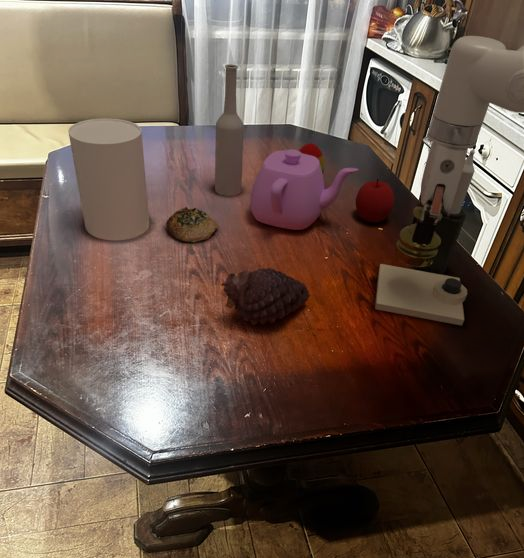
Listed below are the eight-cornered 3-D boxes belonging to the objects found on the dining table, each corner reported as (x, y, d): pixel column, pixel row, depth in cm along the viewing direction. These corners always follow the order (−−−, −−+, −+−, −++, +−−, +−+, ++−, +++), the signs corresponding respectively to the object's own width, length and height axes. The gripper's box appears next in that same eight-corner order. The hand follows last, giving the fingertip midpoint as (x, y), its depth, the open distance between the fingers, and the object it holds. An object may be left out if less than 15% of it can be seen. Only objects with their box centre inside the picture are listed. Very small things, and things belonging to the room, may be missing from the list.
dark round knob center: (458, 287, 98) (461, 279, 97) (459, 296, 96) (462, 288, 95) (442, 284, 99) (445, 276, 98) (443, 293, 97) (445, 285, 95)
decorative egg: (292, 173, 138) (297, 136, 131) (322, 177, 137) (328, 140, 131) (289, 186, 132) (293, 147, 125) (320, 190, 131) (326, 152, 125)
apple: (396, 227, 120) (407, 186, 113) (360, 228, 118) (369, 187, 111) (381, 208, 127) (391, 169, 120) (347, 209, 125) (354, 169, 118)
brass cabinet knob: (438, 269, 92) (456, 219, 85) (397, 266, 92) (412, 216, 85) (429, 247, 98) (445, 198, 91) (390, 244, 98) (404, 195, 91)
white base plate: (459, 284, 104) (464, 271, 102) (464, 326, 94) (470, 313, 92) (378, 269, 106) (382, 256, 104) (374, 309, 96) (378, 296, 94)
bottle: (244, 194, 127) (250, 69, 108) (218, 197, 125) (220, 70, 106) (236, 183, 131) (241, 61, 112) (211, 185, 129) (212, 61, 110)
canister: (145, 207, 118) (137, 117, 105) (153, 237, 109) (145, 142, 95) (83, 211, 115) (67, 119, 101) (87, 243, 105) (69, 145, 92)
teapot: (234, 232, 113) (237, 165, 103) (263, 193, 128) (268, 131, 118) (335, 255, 109) (348, 188, 99) (352, 212, 124) (365, 150, 114)
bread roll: (166, 216, 115) (168, 196, 112) (215, 223, 118) (218, 203, 114) (164, 244, 108) (166, 223, 104) (216, 250, 110) (220, 230, 107)
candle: (415, 270, 107) (454, 150, 90) (424, 259, 110) (463, 142, 93) (438, 279, 105) (482, 158, 88) (447, 268, 108) (491, 150, 91)
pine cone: (289, 285, 99) (318, 260, 91) (300, 333, 96) (331, 311, 88) (206, 280, 90) (229, 252, 82) (215, 333, 87) (241, 309, 79)
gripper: (483, 154, 73) (443, 263, 85) (473, 116, 85) (440, 216, 97) (430, 146, 74) (398, 255, 86) (428, 109, 86) (400, 209, 98)
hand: (421, 233), depth 91 cm, fingers closed on brass cabinet knob, 5 cm apart
